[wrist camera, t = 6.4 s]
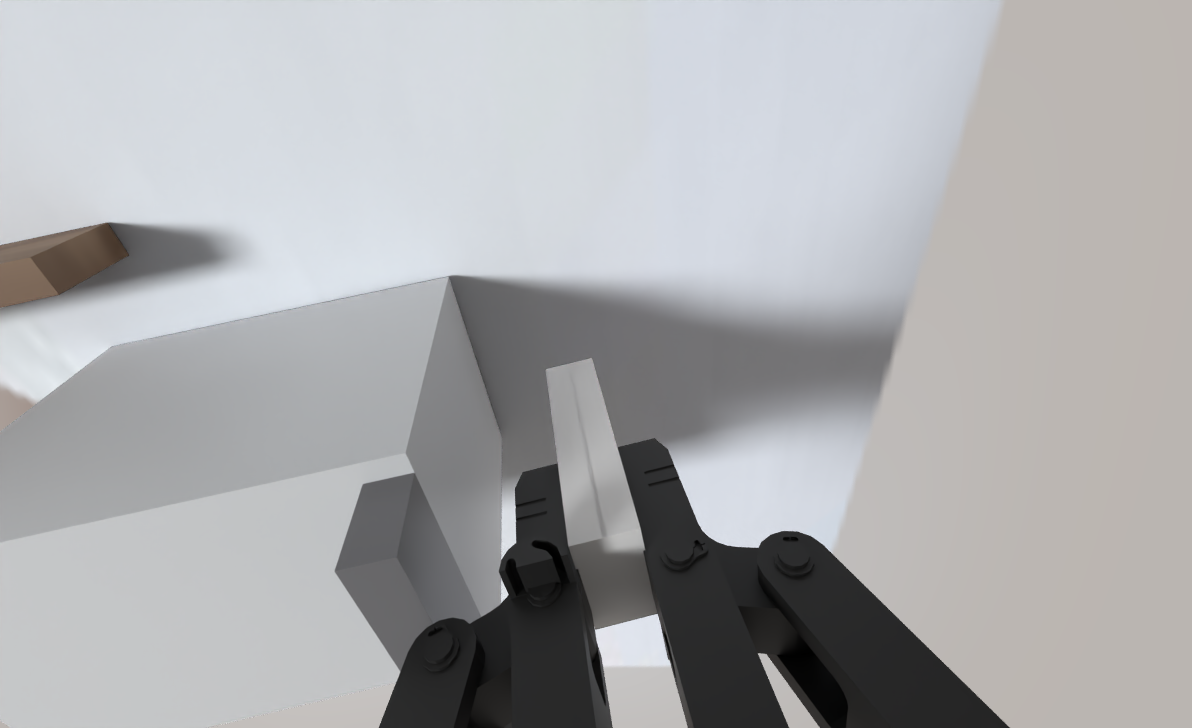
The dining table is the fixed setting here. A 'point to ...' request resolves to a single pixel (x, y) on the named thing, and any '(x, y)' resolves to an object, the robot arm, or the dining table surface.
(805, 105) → the dining table surface
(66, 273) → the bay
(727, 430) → the dining table surface
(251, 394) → the grey box with ridge
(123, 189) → the dining table surface
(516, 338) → the dining table surface
